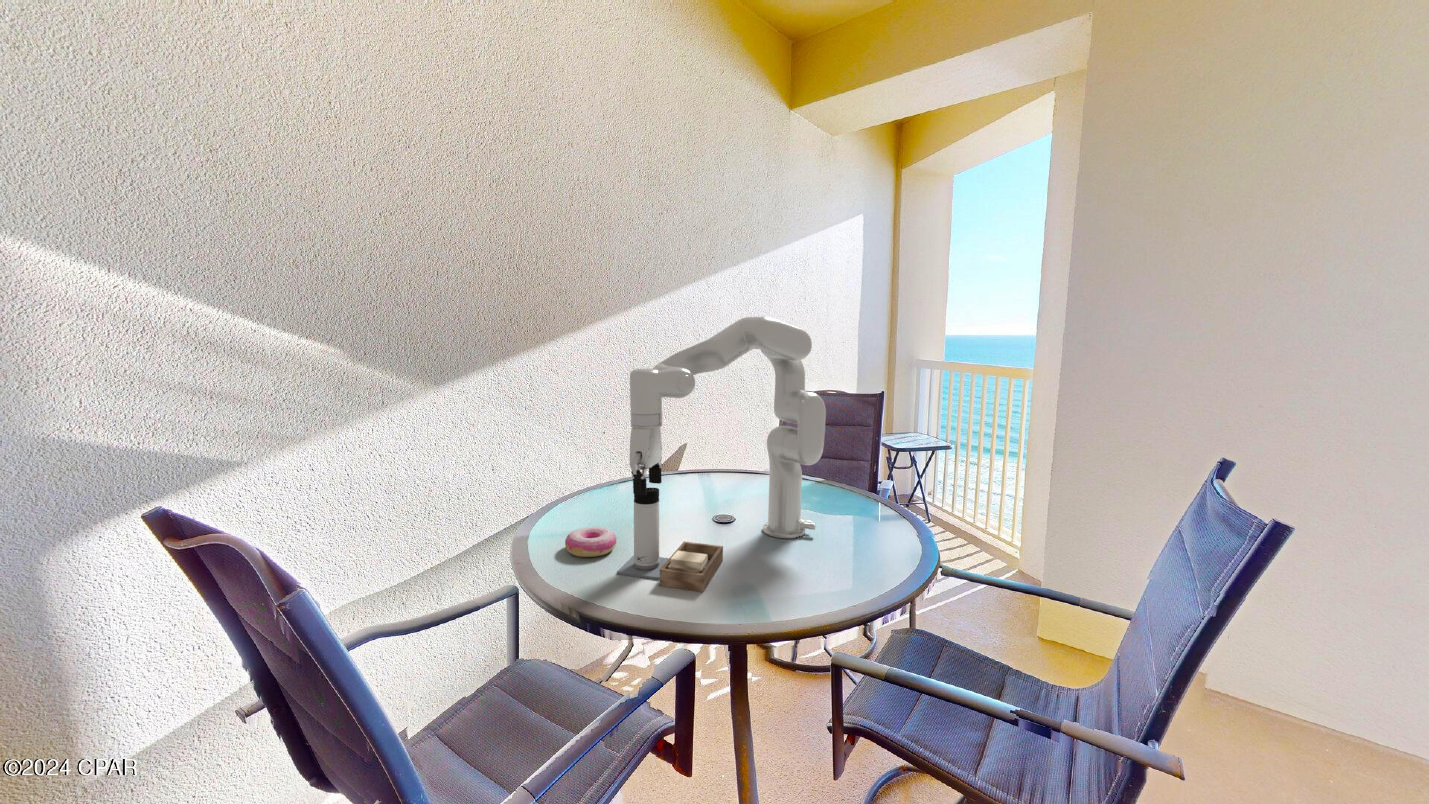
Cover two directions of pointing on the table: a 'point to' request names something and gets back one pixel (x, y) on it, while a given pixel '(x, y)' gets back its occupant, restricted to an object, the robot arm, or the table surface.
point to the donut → (590, 542)
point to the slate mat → (633, 571)
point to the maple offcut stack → (688, 562)
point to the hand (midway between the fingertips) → (647, 488)
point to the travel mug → (646, 530)
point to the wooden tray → (689, 578)
